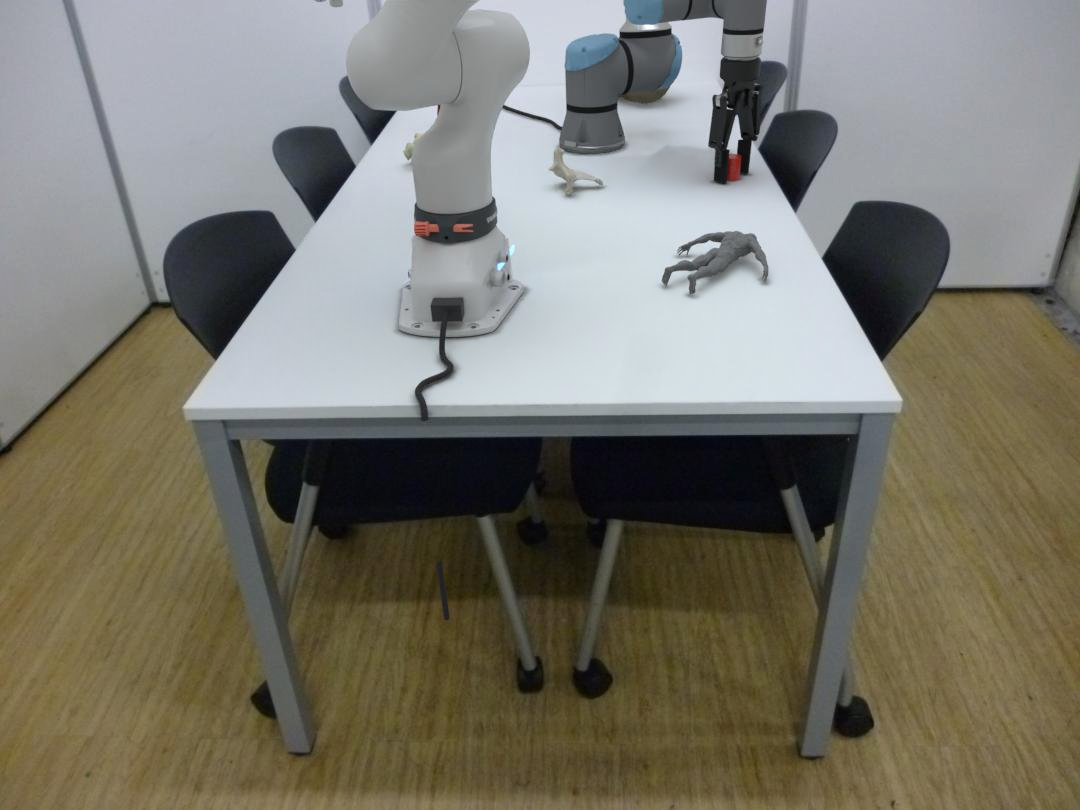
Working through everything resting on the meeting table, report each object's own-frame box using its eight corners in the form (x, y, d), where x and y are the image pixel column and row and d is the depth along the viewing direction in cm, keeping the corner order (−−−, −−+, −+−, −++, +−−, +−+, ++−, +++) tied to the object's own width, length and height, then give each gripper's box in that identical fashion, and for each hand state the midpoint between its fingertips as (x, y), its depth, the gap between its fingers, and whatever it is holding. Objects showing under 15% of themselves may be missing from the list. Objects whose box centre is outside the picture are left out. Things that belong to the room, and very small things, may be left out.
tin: (724, 174, 172) (725, 153, 170) (741, 176, 171) (743, 154, 168) (719, 179, 170) (721, 157, 167) (737, 181, 168) (739, 159, 166)
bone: (576, 172, 159) (561, 138, 165) (554, 195, 163) (539, 162, 168) (611, 192, 166) (595, 159, 172) (589, 214, 170) (574, 181, 175)
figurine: (723, 310, 121) (798, 261, 131) (724, 284, 118) (801, 236, 129) (634, 279, 131) (711, 236, 142) (634, 254, 129) (712, 213, 139)
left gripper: (352, -93, 125) (366, 8, 133) (314, -94, 141) (329, -3, 148) (311, -91, 123) (328, 12, 130) (277, -92, 138) (293, 0, 146)
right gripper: (726, 67, 150) (717, 192, 162) (787, 50, 161) (774, 169, 173) (693, 63, 154) (686, 185, 167) (753, 47, 166) (743, 162, 178)
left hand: (328, 4), depth 139 cm, fingers open, 8 cm apart
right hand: (731, 176), depth 170 cm, fingers open, 7 cm apart
